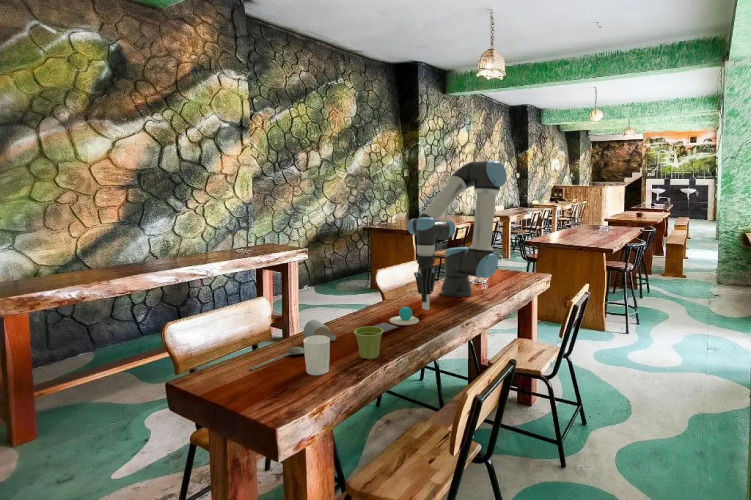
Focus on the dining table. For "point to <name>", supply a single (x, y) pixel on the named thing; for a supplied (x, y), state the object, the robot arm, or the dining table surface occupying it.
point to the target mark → (404, 321)
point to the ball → (405, 313)
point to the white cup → (317, 354)
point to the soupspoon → (290, 352)
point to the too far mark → (385, 326)
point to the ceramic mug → (317, 330)
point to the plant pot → (368, 341)
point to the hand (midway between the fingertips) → (425, 308)
